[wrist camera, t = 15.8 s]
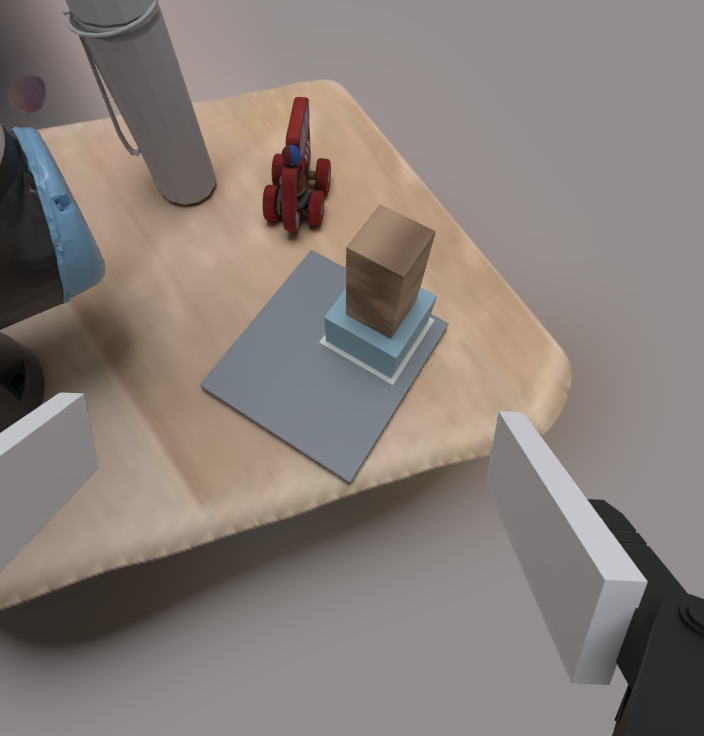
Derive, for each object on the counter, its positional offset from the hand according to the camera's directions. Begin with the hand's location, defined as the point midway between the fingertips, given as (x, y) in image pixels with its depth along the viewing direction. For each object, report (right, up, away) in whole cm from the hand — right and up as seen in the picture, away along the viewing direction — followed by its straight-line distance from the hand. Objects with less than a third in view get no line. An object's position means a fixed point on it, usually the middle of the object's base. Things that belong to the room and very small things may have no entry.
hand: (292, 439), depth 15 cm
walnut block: (+5, +8, +29) cm, 31 cm away
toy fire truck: (-5, +23, +43) cm, 49 cm away
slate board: (-1, +3, +34) cm, 34 cm away
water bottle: (-20, +25, +43) cm, 54 cm away
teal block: (+5, +6, +34) cm, 35 cm away
